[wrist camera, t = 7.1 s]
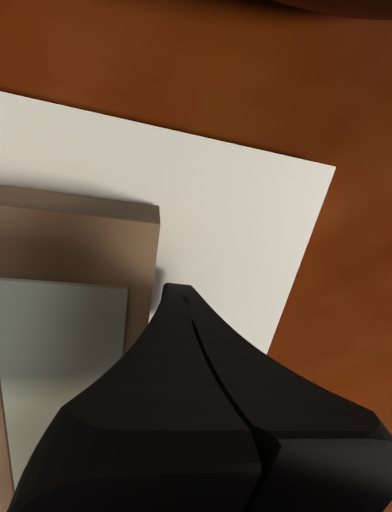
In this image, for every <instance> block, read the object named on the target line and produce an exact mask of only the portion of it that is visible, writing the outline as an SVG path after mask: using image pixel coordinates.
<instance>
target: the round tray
mask: <svg viewBox="0 0 392 512" xmlns="http://www.w3.org/2000/svg"><path fill="white" fill-rule="evenodd" d="M273 1H276V2H279V3H282V4H286V5H289V6H293V7H297V8H301V9H306V10H310V11H315V12H319V13H323V14H329V15H336V16H342V17H349V18H360V19H373V20H392V0H273Z"/></svg>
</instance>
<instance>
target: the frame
mask: <svg viewBox="0 0 392 512" xmlns="http://www.w3.org/2000/svg"><path fill="white" fill-rule="evenodd" d="M159 233H160V210H159V206H158V205H150V204H143V203H135V202H127V201H120V200H112V199H105V198H97V197H90V196H82V195H74V194H67V193H59V192H52V191H44V190H36V189H29V188H21V187H14V186H6V185H0V511H1V512H7V510H8V508H9V505H10V502H11V500H12V497H13V495H14V492H15V490H16V487H17V485H18V482H19V480H20V477H21V475H22V473H23V471H24V469H25V467H26V465H27V463H28V461H29V459H30V457H31V455H32V453H33V451H34V449H35V447H36V446H37V444H38V442H39V441H40V439H41V437H42V436H43V434H44V432H45V431H46V429H47V427H48V426H49V424H50V423H51V421H52V420H53V418H54V417H55V415H56V414H57V412H58V411H59V409H60V408H61V407H62V406H63V405H64V404H66V403H67V402H69V401H70V400H71V399H73V398H74V397H75V396H77V395H78V394H79V393H81V392H82V391H83V390H85V389H86V388H87V387H89V386H90V385H91V384H92V383H94V382H95V381H96V380H97V379H99V378H100V377H101V376H102V375H103V374H104V373H105V372H106V371H107V370H108V369H110V368H111V367H112V366H113V365H114V364H115V363H116V362H117V361H118V360H119V359H120V358H121V357H122V356H123V355H124V354H125V353H126V352H127V351H128V350H129V348H130V347H131V346H132V345H133V344H134V343H135V342H136V340H137V339H138V338H139V336H140V335H141V334H142V332H143V331H144V330H145V328H146V327H147V325H148V324H149V315H150V307H151V299H152V290H153V282H154V274H155V266H156V257H157V249H158V241H159Z"/></svg>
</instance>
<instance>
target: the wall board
mask: <svg viewBox="0 0 392 512" xmlns="http://www.w3.org/2000/svg"><path fill="white" fill-rule="evenodd" d="M335 169H336V167H334V166H330V165H325V164H321V163H317V162H312V161H308V160H303V159H299V158H294V157H290V156H285V155H281V154H277V153H272V152H268V151H263V150H259V149H254V148H250V147H245V146H241V145H237V144H232V143H228V142H223V141H219V140H214V139H210V138H206V137H201V136H197V135H192V134H188V133H183V132H179V131H174V130H170V129H166V128H161V127H157V126H152V125H148V124H143V123H139V122H135V121H130V120H126V119H121V118H117V117H112V116H108V115H103V114H99V113H95V112H90V111H86V110H81V109H77V108H72V107H68V106H63V105H59V104H55V103H50V102H46V101H41V100H37V99H32V98H28V97H24V96H19V95H15V94H10V93H6V92H1V91H0V185H6V186H14V187H21V188H29V189H36V190H44V191H52V192H59V193H67V194H74V195H82V196H90V197H97V198H105V199H112V200H120V201H127V202H135V203H143V204H150V205H158V206H159V210H160V233H159V241H158V249H157V257H156V266H155V274H154V282H153V290H152V299H151V307H150V315H149V322H150V320H151V319H152V317H153V315H154V314H155V312H156V310H157V308H158V306H159V303H160V301H161V295H162V290H163V285H164V284H166V283H176V284H184V285H191V286H192V287H193V288H194V289H195V290H196V291H197V292H198V293H199V294H200V295H201V297H202V298H203V299H204V300H205V301H206V302H207V303H208V304H209V305H210V306H211V308H212V309H213V310H214V311H215V312H216V313H217V314H218V315H219V316H220V317H221V318H222V319H223V320H224V321H225V322H226V323H227V324H229V325H230V326H231V327H232V328H233V329H234V330H235V331H236V332H237V333H239V334H240V335H241V336H242V337H243V338H245V339H246V340H247V341H248V342H250V343H251V344H252V345H254V346H255V347H256V348H258V349H259V350H260V351H262V352H263V353H265V354H266V355H267V352H268V349H269V346H270V344H271V341H272V338H273V336H274V333H275V330H276V328H277V325H278V322H279V319H280V317H281V314H282V311H283V309H284V306H285V303H286V301H287V298H288V295H289V293H290V290H291V287H292V284H293V282H294V279H295V276H296V274H297V271H298V268H299V266H300V263H301V260H302V258H303V255H304V252H305V249H306V247H307V244H308V241H309V239H310V236H311V233H312V231H313V228H314V225H315V222H316V220H317V217H318V214H319V212H320V209H321V206H322V204H323V201H324V198H325V196H326V193H327V190H328V187H329V185H330V182H331V179H332V177H333V174H334V171H335Z"/></svg>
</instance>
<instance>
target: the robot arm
mask: <svg viewBox="0 0 392 512" xmlns="http://www.w3.org/2000/svg"><path fill="white" fill-rule="evenodd" d="M391 500H392V435H391V433H390V432H389V431H388V430H387V428H386V427H385V426H384V425H383V423H382V422H381V421H380V419H379V418H378V417H377V416H376V414H375V413H374V412H373V411H371V410H369V409H367V408H364V407H362V406H360V405H358V404H356V403H353V402H351V401H349V400H347V399H345V398H343V397H340V396H338V395H336V394H334V393H332V392H330V391H328V390H326V389H324V388H322V387H320V386H318V385H316V384H314V383H312V382H310V381H309V380H307V379H305V378H303V377H301V376H299V375H298V374H296V373H294V372H293V371H291V370H289V369H288V368H286V367H284V366H283V365H281V364H280V363H278V362H277V361H275V360H273V359H272V358H270V357H269V356H267V355H266V354H265V353H263V352H262V351H260V350H259V349H258V348H256V347H255V346H254V345H252V344H251V343H250V342H248V341H247V340H246V339H245V338H243V337H242V336H241V335H240V334H239V333H237V332H236V331H235V330H234V329H233V328H232V327H231V326H230V325H229V324H227V323H226V322H225V321H224V320H223V319H222V318H221V317H220V316H219V315H218V314H217V313H216V312H215V311H214V310H213V309H212V308H211V306H210V305H209V304H208V303H207V302H206V301H205V300H204V299H203V298H202V297H201V295H200V294H199V293H198V292H197V291H196V290H195V289H194V288H193V287H192V286H191V285H184V284H176V283H166V284H164V285H163V290H162V295H161V301H160V303H159V306H158V308H157V310H156V312H155V314H154V315H153V317H152V319H151V320H150V322H149V324H148V325H147V327H146V328H145V330H144V331H143V332H142V334H141V335H140V336H139V338H138V339H137V340H136V342H135V343H134V344H133V345H132V346H131V347H130V348H129V350H128V351H127V352H126V353H125V354H124V355H123V356H122V357H121V358H120V359H119V360H118V361H117V362H116V363H115V364H114V365H113V366H112V367H111V368H110V369H108V370H107V371H106V372H105V373H104V374H103V375H102V376H101V377H100V378H99V379H97V380H96V381H95V382H94V383H92V384H91V385H90V386H89V387H87V388H86V389H85V390H83V391H82V392H81V393H79V394H78V395H77V396H75V397H74V398H73V399H71V400H70V401H69V402H67V403H66V404H64V405H63V406H62V407H61V408H60V409H59V411H58V412H57V414H56V415H55V417H54V418H53V420H52V421H51V423H50V424H49V426H48V427H47V429H46V431H45V432H44V434H43V436H42V437H41V439H40V441H39V442H38V444H37V446H36V447H35V449H34V451H33V453H32V455H31V457H30V459H29V461H28V463H27V465H26V467H25V469H24V471H23V473H22V475H21V477H20V480H19V482H18V485H17V487H16V490H15V492H14V495H13V497H12V500H11V502H10V505H9V508H8V510H7V512H383V511H384V509H385V508H386V507H387V505H388V504H389V503H390V502H391Z"/></svg>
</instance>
